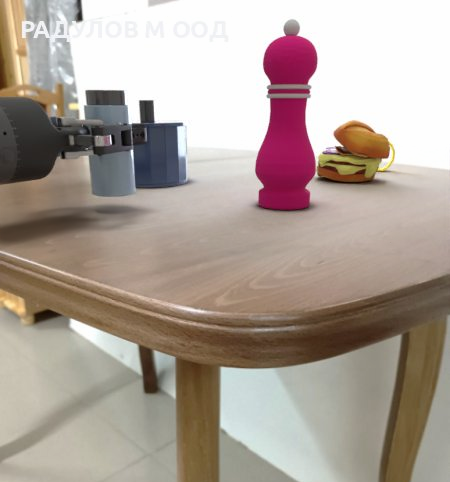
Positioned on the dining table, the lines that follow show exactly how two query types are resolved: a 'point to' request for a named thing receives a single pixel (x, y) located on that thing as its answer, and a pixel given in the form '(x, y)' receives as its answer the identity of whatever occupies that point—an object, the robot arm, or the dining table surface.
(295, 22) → the pepper mill
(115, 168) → the shaker
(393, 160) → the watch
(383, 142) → the cheeseburger
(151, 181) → the pot
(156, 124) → the pot lid
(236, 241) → the dining table surface
